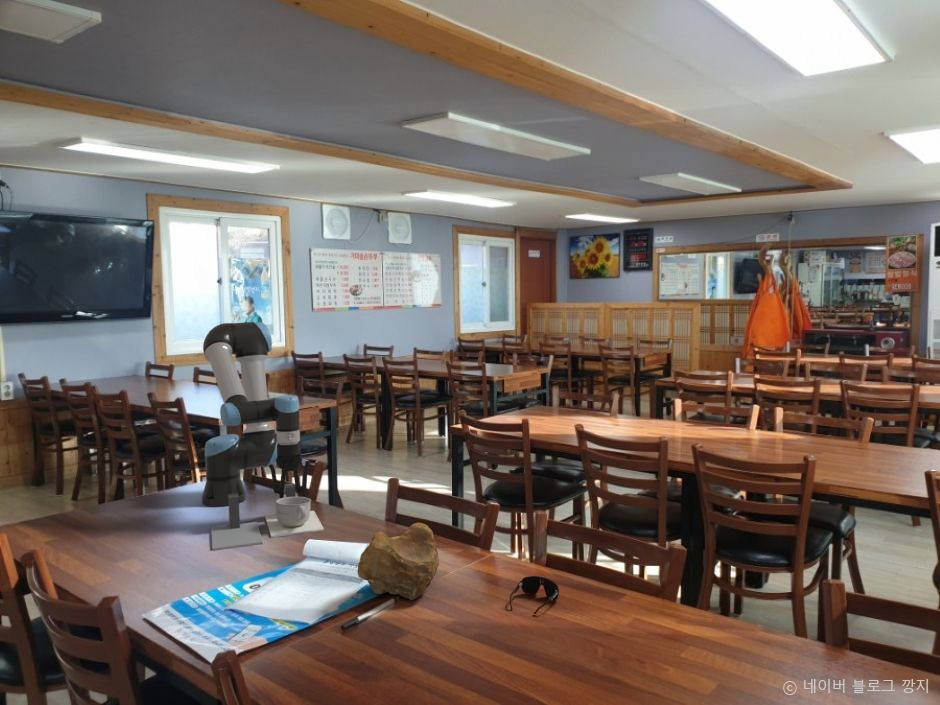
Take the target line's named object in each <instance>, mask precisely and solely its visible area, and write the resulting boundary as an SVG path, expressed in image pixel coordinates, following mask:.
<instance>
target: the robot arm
mask: <svg viewBox="0 0 940 705" xmlns="http://www.w3.org/2000/svg"><path fill="white" fill-rule="evenodd" d="M202 343H203V345H202V351H203V354H204V358H205V360H206V361H208V362H209V363H210V366H211V369H212V372H213V375H214V378H215V381H216V383H217V387H218V390H219V392H220V396H221V398H222V402H223V404H221V406H220V408H219V409H220V410H219V414H220V420H221V423H222V424H223V425H224V426H226V427H228V426H229V427H234V426H241V425H242V426H243V425H245V429H244V430H243V431H242V437H240V436H239V435H238V434H237V433H231V434H222V435H219V436H215V437H212V438H210V439H209V440H207V441H206V442H205V445H204V458H205V479H206V481H205V485H204V488H203V492H202V495H201V503H202V504H203V505H204V506H208V507H225V506H229V505H228V494H232V493H238V496H239V504H240V503H242V502H245V501H246V499H247V493H246V492H247V491H246V490H245V487H244V484H243V481H242V479H241V471H242V470H249V469H256V468H263V467H268V468H269V470H270V472H271V480H272V481H271V482H272V488H273V492H274V494H279V499H281V498H285V497H286V493H284V487H285V484H286V477H287V472H289V471H290V472H291V471H292V474H293V475H292V476H293V478H294V486H295V497H302V492H304V491H306V490H307V487H308V486H307V483H308V481H307V480H308V470H309V466H310V463H311V462H310V460H309V459H306V458H303V457H302V455H301V443H300V441H301V434H300V433H301V432H300V404H299V398H298V396H297V395H289V394H288V395H287V394H285V395H279V396H276V397H269V398H268V387H267V377H266V368H265V361H266V360H267V358H268V357H269V353H270V352H271V351H272V349H273V346H272V345H273V339H272V335H271V332H270V329H269V328H268V325H266V324H265V323H264V322H259V321H258V322H255V321H251V322H250V321H248V322H223V323H220V324H218V325H216V326H214V327H213V328H211V329H210V330H209V331H208V333H207V334H206V336H205V337H204V340H203V342H202ZM232 355H234V357H235V360H236V361H237V362H238V363H239V364H240V372H241V373H240V374H241V377H240V376H239V373H238V370H237V367H236V364H235V362H234V359H233V356H232ZM271 422H275V427H274V426H272V425H271ZM300 465H302V475H301V476H302V478H301V483H300V478H299V473H298V468H299V466H300ZM277 466H278V467H279V468H280V470H281V471H280V472H281V473H280V481H279V487H278V481H277V480H278V479H277V472H276V469H277ZM300 484H301V485H300Z"/></svg>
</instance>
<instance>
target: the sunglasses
mask: <svg viewBox="0 0 940 705" xmlns="http://www.w3.org/2000/svg"><path fill="white" fill-rule="evenodd" d="M541 586H543V590H544V593H545V596H546V597H550V598H548V600H547V601H546V602H544V603H543V604H542V605H540V606H539V607H538V608H537V609H535V611H534V612H533V614H536V615H537V613H538V611H539V610H540V609H541V608H543V607H544V606H546V605H548V604H549V603H550V602H552V601H556V600H558V599H559V594H560V588H559V586H558V584H557V583H556V582H555V581H553V580H552V579H549V577H548V578H547V577H544V576H539V575H529V576H525V577H523V578H522V579H521V580H519V583H518V584H517V585H516V587H515V588H514V589H513V591H512V592H511V593H510V595H509V605H510V610H511V611H512V610H513V609H514V608H513V607H512V606H513V605H512V601H511V600H512V596H513V595H514V594H516V593H517V592H519V589H520V588H521V591H522V592H523V593H524V594H526V593H531V594H530V595H533V594H535V595H537V593H538V592H539V589H540V588H541ZM553 599H554V600H553Z"/></svg>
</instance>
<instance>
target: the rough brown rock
mask: <svg viewBox="0 0 940 705" xmlns="http://www.w3.org/2000/svg"><path fill="white" fill-rule="evenodd" d="M439 565H440V562H439V551H438V549H437V544H436V541H435V538H434V533H433V531H432V529H431V528H430V527H429V525H427V524H425V523H422V522H415V523H413V524H411V525H410V526H409V527H408V528H407V529H406V531H404V533H402V534H401V535H396V536H392V537H391V536H390V537H389V536H388V535H387V534H386V533H385V532H383V531H376V532H375V533H373V535H372V536H371V541H370V543H369V544H368V545H367V547H366V548H365V549H364V550H363V552H362V553H361V554H360V557H359V562H358V564H357V576H358V578H360V579H362V580H364V581H367V582H368V584H369V586H370V588H371V590H372V591H373V593H374V594H376V595H383V594H386V593H389V594H390V595H399V596H401V597H403V598H404V599H408V600H410V601H413V600H415V599H417V598H419V597H420V596H421V595H422V594H423V592H424V591H425V589H426V588H427V585H428V584H429V583H431V581H433V579H434V577H435V576H436V575H437V574H436V573H437V571H438V568H439Z"/></svg>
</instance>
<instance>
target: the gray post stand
mask: <svg viewBox="0 0 940 705" xmlns="http://www.w3.org/2000/svg"><path fill="white" fill-rule="evenodd" d="M227 506H228V524H229V525H221V526H214V527H210V530H211V533H210V534H211V547H212V551H218V550H226V549H227V550H228V549H233V548H234V549H235V548H241V547H248V546H250V547H251V546H256V545H263V539H262V535H261V532H260V528H259V524H258V521H253V522H244V523H241V521H240V503H239V496H238V493H232V494H228V505H227Z"/></svg>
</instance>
